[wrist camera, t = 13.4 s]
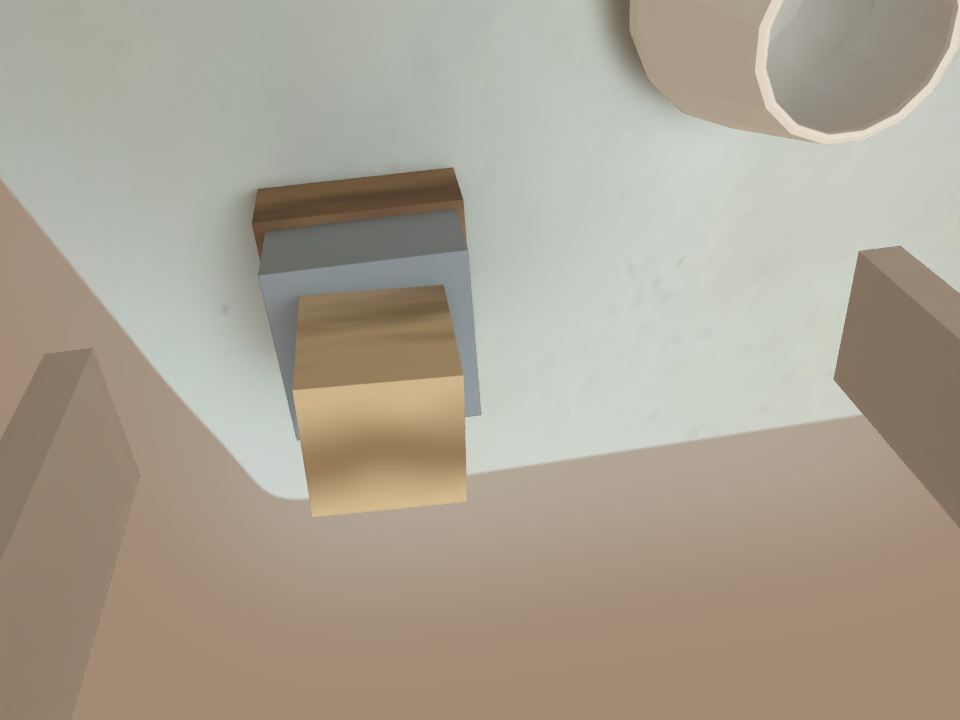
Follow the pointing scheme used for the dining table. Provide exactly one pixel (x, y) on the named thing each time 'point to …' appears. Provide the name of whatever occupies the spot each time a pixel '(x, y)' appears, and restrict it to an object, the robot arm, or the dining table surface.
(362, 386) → the oak block
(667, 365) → the dining table surface
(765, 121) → the white ceramic vase
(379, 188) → the tower base
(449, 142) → the dining table surface
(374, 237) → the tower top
